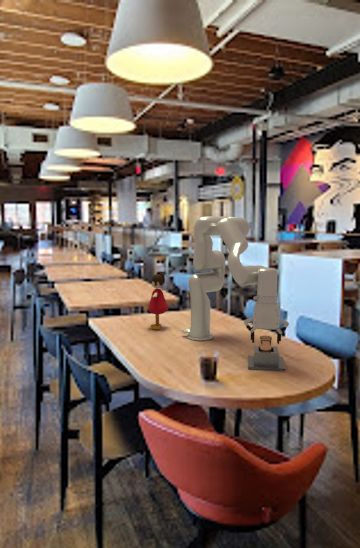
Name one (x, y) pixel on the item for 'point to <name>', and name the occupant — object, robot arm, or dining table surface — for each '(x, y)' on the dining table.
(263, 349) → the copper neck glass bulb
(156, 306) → the toy
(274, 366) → the flange socket
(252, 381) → the dining table surface
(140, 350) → the dining table surface
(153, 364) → the dining table surface
